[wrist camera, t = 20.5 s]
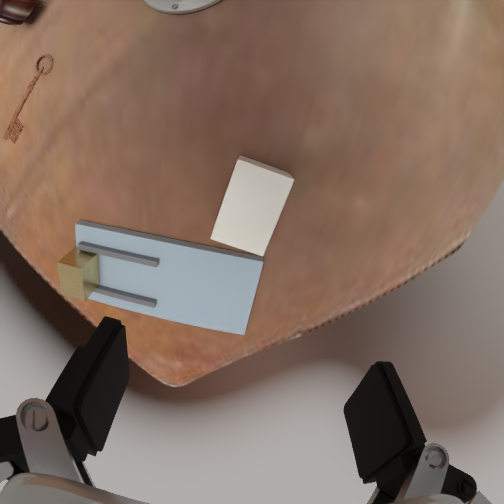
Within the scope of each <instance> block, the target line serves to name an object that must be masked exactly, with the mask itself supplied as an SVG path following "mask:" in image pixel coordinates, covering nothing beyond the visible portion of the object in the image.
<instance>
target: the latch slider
mask: <svg viewBox="0 0 504 504" xmlns="http://www.w3.org/2000/svg"><path fill="white" fill-rule="evenodd" d="M57 264H58V272H59V280H60V287H61V293H62V295H65V296H68V297H71V298H74V299H77V300H80V301H84V302H85V301H86V300H87V299H88V297H89V296H90V295H91V294H92V292H93V291H94V290H95V289H96V288H97V286H98V285H99V284H100V281H99V262H98V254H96V253H92V252H88V251H84V250H80V249H78V248H76V247H75V248H74V249H73V250H71V251H70V252H69V253H68V254H67V255H65V256H64V257H63V258H62V259H61V260H59V261H58V262H57Z"/></svg>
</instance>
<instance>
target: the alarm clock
mask: <svg viewBox="0 0 504 504" xmlns="http://www.w3.org/2000/svg"><path fill="white" fill-rule="evenodd" d="M37 3H38V1H37V0H0V22H1V23H4V24H9V25H21V24H22V23H23V22H29V23H30V24H31V23H32V21H30V20H28V19H27V17H28V16H29V15H30V14H31V12H32V11H33V9H34V8H35V7H39V8H41V6H39V5H38V4H37Z"/></svg>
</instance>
